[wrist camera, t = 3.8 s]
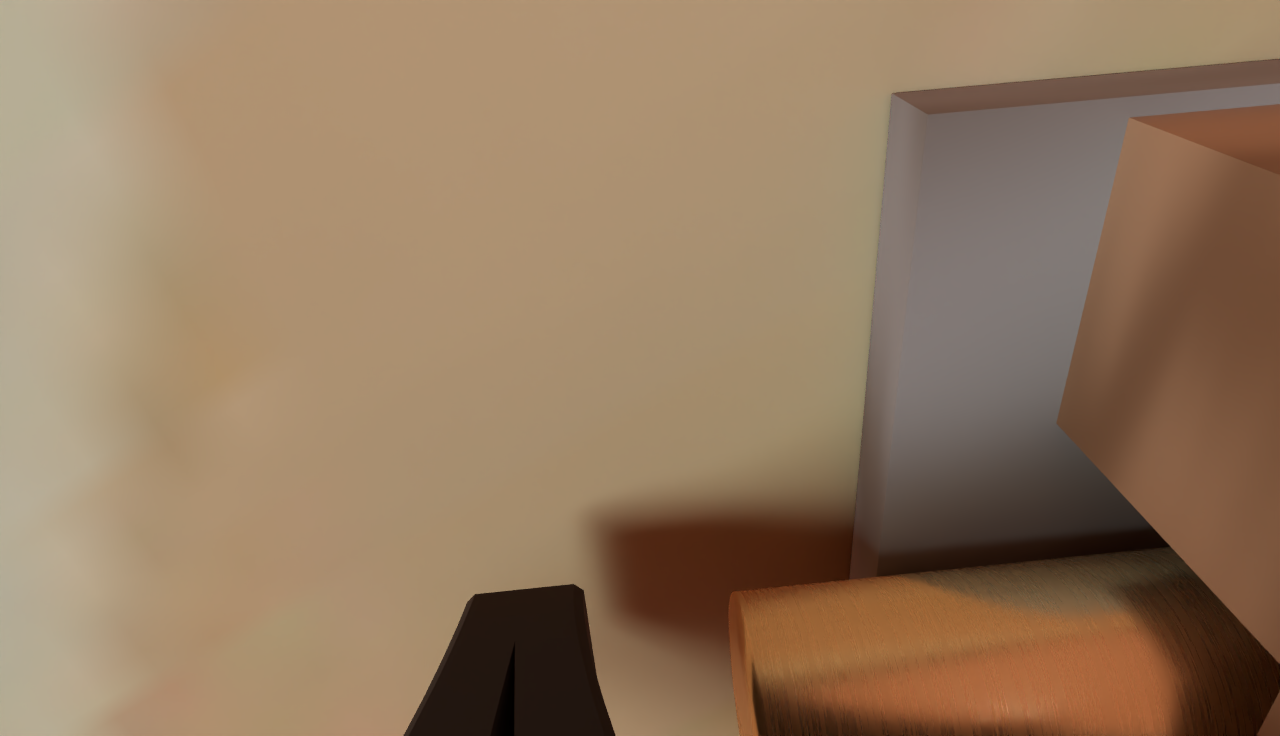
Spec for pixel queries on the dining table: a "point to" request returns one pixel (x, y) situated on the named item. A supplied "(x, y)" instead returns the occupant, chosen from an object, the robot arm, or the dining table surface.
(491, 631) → the robot arm
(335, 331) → the dining table surface
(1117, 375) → the bridge block
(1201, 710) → the axle
